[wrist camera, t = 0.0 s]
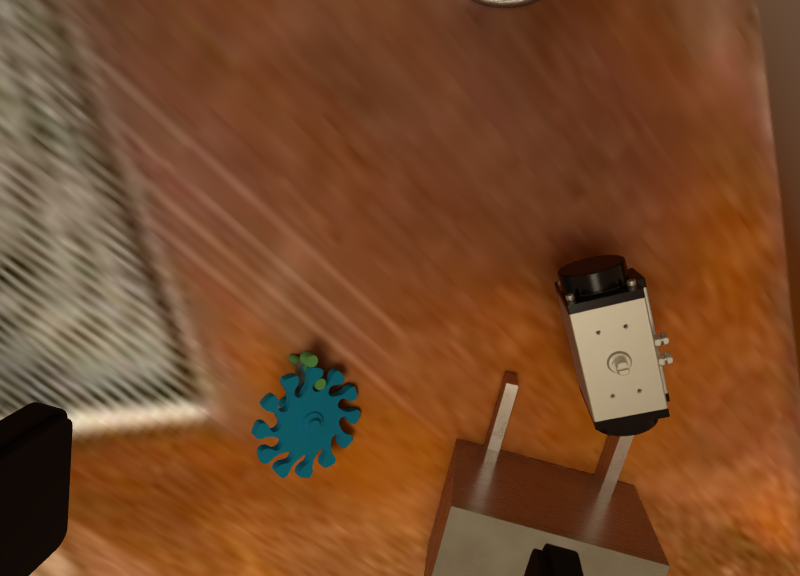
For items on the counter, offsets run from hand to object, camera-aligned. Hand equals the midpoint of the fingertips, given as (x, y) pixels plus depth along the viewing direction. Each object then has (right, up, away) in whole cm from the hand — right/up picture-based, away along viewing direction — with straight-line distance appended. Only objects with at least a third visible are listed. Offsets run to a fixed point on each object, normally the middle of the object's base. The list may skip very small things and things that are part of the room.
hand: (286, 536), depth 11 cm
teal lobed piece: (-5, -5, +41) cm, 41 cm away
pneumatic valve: (+18, +3, +35) cm, 40 cm away
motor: (+14, -16, +41) cm, 46 cm away
